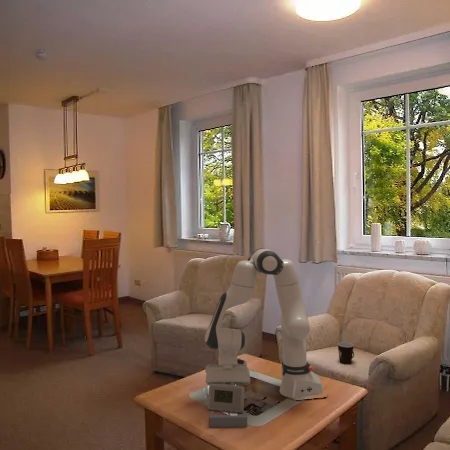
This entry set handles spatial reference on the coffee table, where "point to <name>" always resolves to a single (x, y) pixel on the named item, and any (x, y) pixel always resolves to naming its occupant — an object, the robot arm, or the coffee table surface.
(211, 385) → the digital clock
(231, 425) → the dock
